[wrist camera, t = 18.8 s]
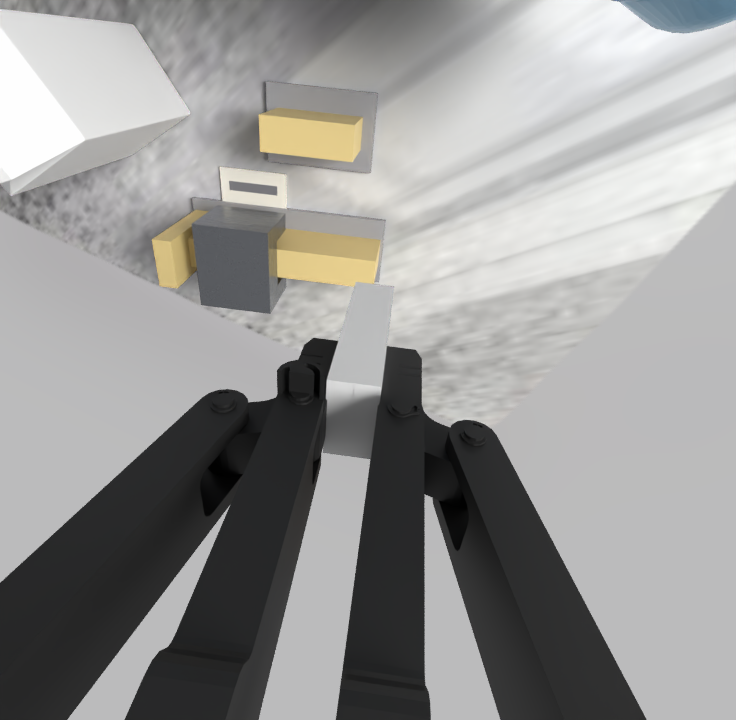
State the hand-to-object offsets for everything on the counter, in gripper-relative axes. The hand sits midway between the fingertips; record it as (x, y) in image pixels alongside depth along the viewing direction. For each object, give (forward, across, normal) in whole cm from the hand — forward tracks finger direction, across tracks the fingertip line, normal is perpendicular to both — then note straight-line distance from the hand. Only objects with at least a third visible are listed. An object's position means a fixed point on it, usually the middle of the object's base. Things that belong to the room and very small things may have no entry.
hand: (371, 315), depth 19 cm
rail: (+26, -10, -7) cm, 29 cm away
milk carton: (+27, -23, +4) cm, 35 cm away
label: (+26, -13, -2) cm, 30 cm away
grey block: (+23, -12, -7) cm, 27 cm away
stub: (+26, -7, +3) cm, 27 cm away
